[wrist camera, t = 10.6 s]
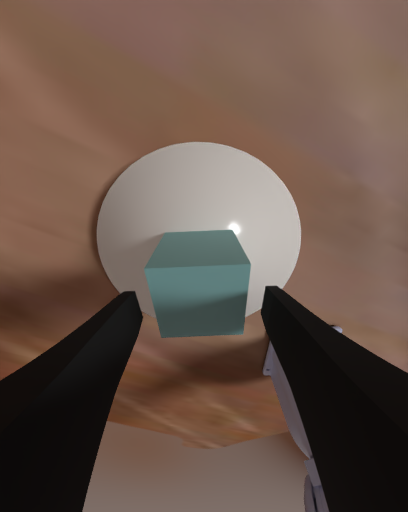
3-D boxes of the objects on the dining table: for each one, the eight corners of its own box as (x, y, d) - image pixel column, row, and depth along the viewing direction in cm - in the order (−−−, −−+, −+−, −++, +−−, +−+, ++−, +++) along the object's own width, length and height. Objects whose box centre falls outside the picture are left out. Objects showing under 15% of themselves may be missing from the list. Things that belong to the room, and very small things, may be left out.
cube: (230, 283, 14) (243, 334, 10) (173, 285, 14) (161, 337, 10) (232, 229, 12) (251, 264, 7) (165, 232, 12) (143, 268, 7)
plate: (275, 315, 18) (279, 324, 17) (132, 320, 18) (127, 330, 17) (317, 140, 10) (331, 136, 9) (71, 149, 10) (56, 147, 9)
